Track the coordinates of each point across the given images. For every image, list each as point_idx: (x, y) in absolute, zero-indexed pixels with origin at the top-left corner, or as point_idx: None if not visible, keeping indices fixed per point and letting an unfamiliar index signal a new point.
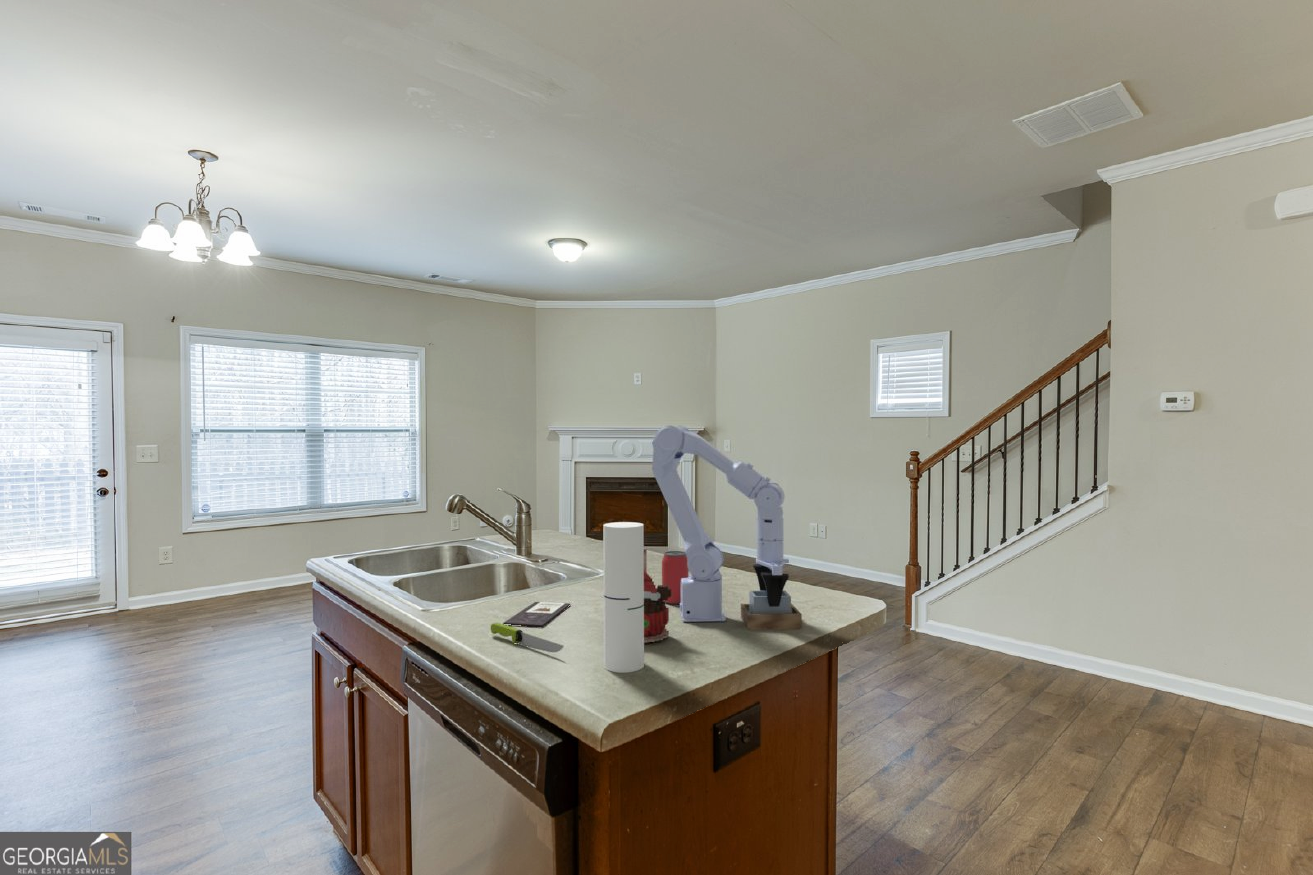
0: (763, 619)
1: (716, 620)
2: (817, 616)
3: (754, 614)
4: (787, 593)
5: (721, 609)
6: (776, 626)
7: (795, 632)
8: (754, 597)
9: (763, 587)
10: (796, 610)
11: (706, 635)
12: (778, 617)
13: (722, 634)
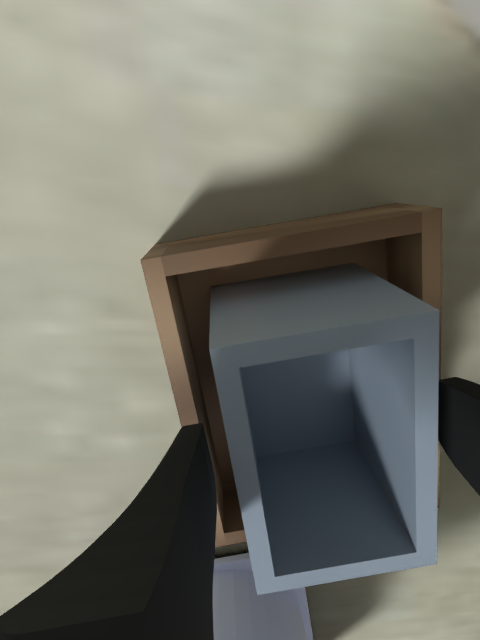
0: None
1: None
2: (110, 57)
3: None
4: (328, 334)
5: (251, 600)
6: None
7: (456, 243)
8: (433, 555)
9: (209, 527)
10: (345, 237)
11: (470, 584)
12: None
13: (463, 539)
